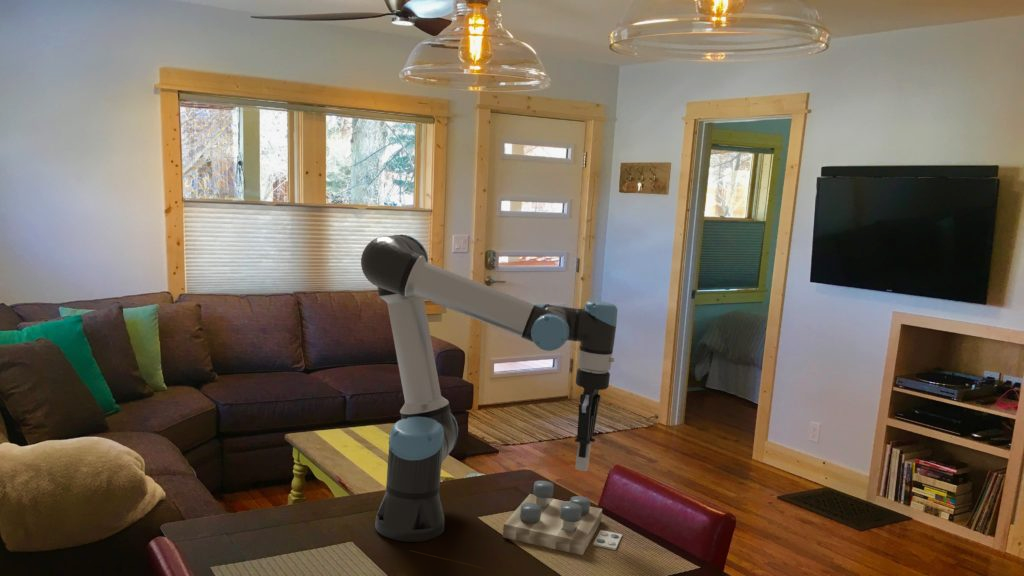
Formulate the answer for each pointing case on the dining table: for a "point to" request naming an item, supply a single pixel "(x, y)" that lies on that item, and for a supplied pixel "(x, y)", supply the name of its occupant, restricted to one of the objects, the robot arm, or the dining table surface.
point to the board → (553, 528)
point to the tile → (607, 540)
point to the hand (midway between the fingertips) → (581, 469)
